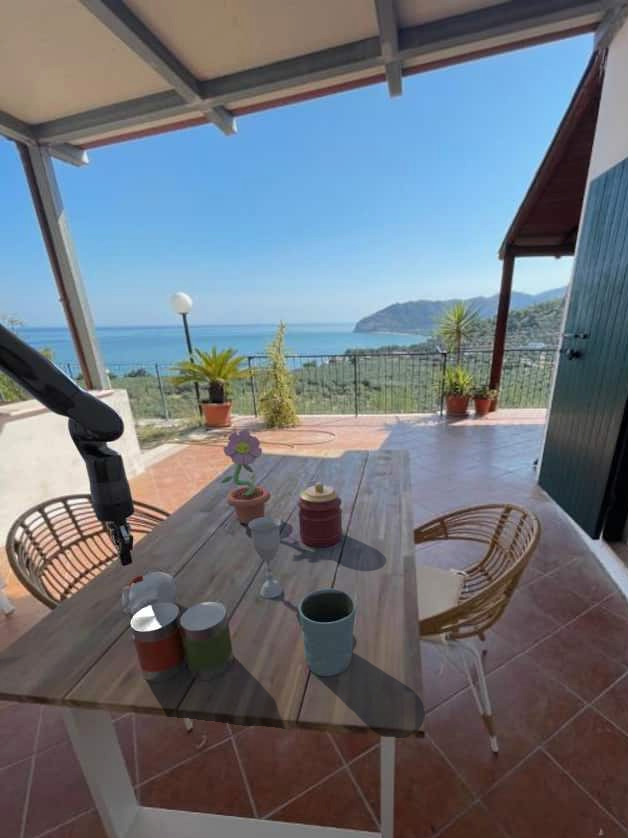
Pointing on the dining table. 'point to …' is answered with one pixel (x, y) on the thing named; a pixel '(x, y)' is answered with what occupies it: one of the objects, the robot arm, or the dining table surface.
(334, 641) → the light blue cup
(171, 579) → the grey rounded lumpy piece
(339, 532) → the kitchen canister
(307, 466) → the dining table surface
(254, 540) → the chalice
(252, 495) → the decorative flower
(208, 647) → the tin cans
